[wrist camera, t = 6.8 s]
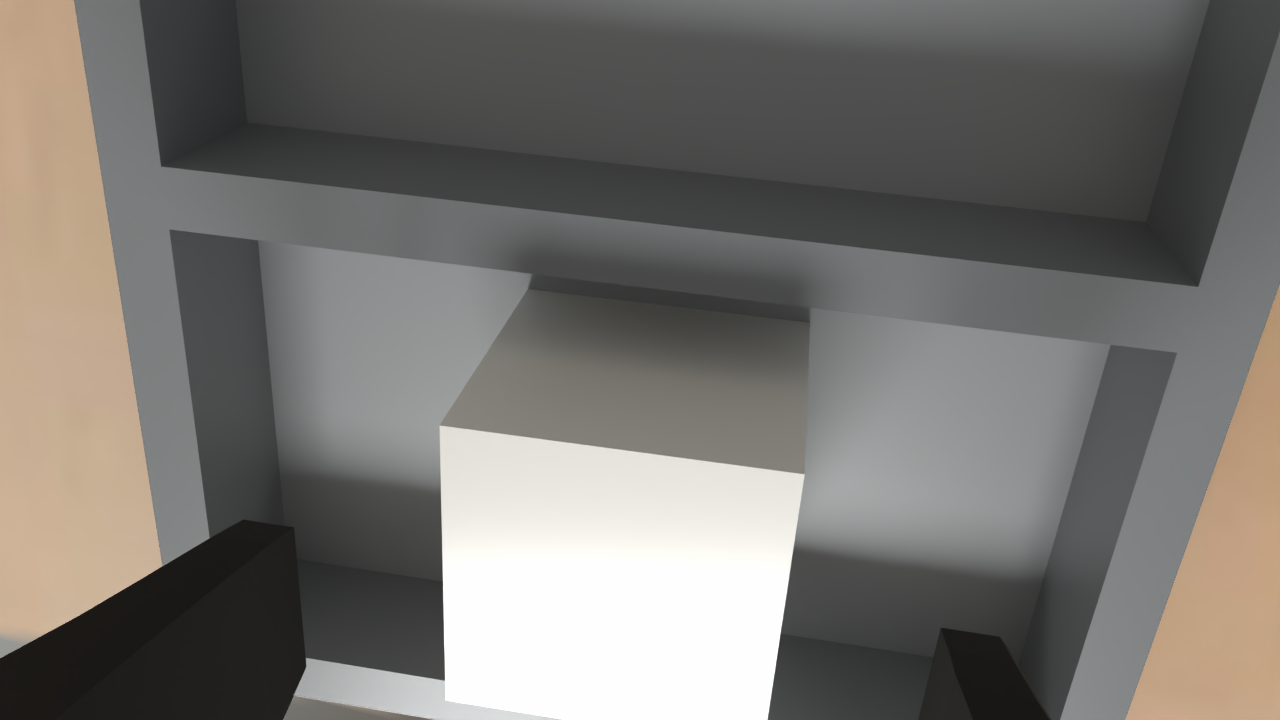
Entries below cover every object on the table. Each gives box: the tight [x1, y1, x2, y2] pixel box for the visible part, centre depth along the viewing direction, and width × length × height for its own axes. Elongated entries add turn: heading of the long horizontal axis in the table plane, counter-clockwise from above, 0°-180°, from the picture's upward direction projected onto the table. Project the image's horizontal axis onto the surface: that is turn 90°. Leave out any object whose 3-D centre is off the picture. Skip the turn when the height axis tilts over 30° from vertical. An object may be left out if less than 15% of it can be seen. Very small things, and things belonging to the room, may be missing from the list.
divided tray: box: [74, 0, 1280, 720], centre depth 14 cm, size 14×16×3 cm
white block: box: [440, 289, 810, 720], centre depth 15 cm, size 4×4×4 cm
